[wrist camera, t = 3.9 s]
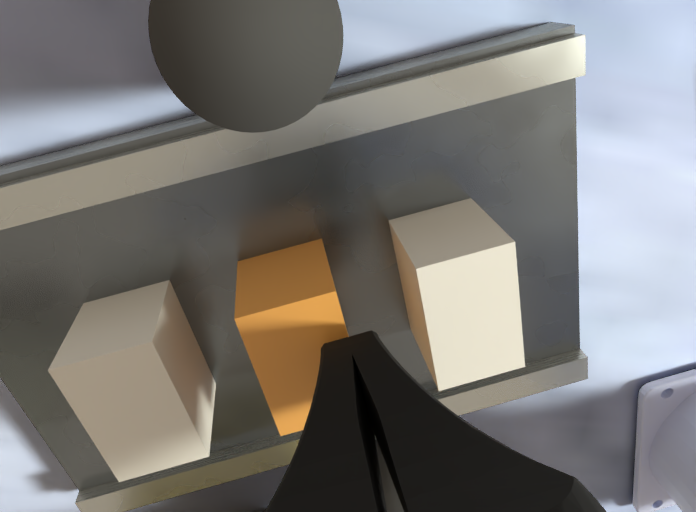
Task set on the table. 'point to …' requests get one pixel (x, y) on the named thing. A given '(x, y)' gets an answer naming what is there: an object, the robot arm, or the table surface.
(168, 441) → the block
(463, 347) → the block
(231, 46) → the cord post
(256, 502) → the table surface
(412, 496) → the robot arm
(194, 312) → the panel
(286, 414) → the block
